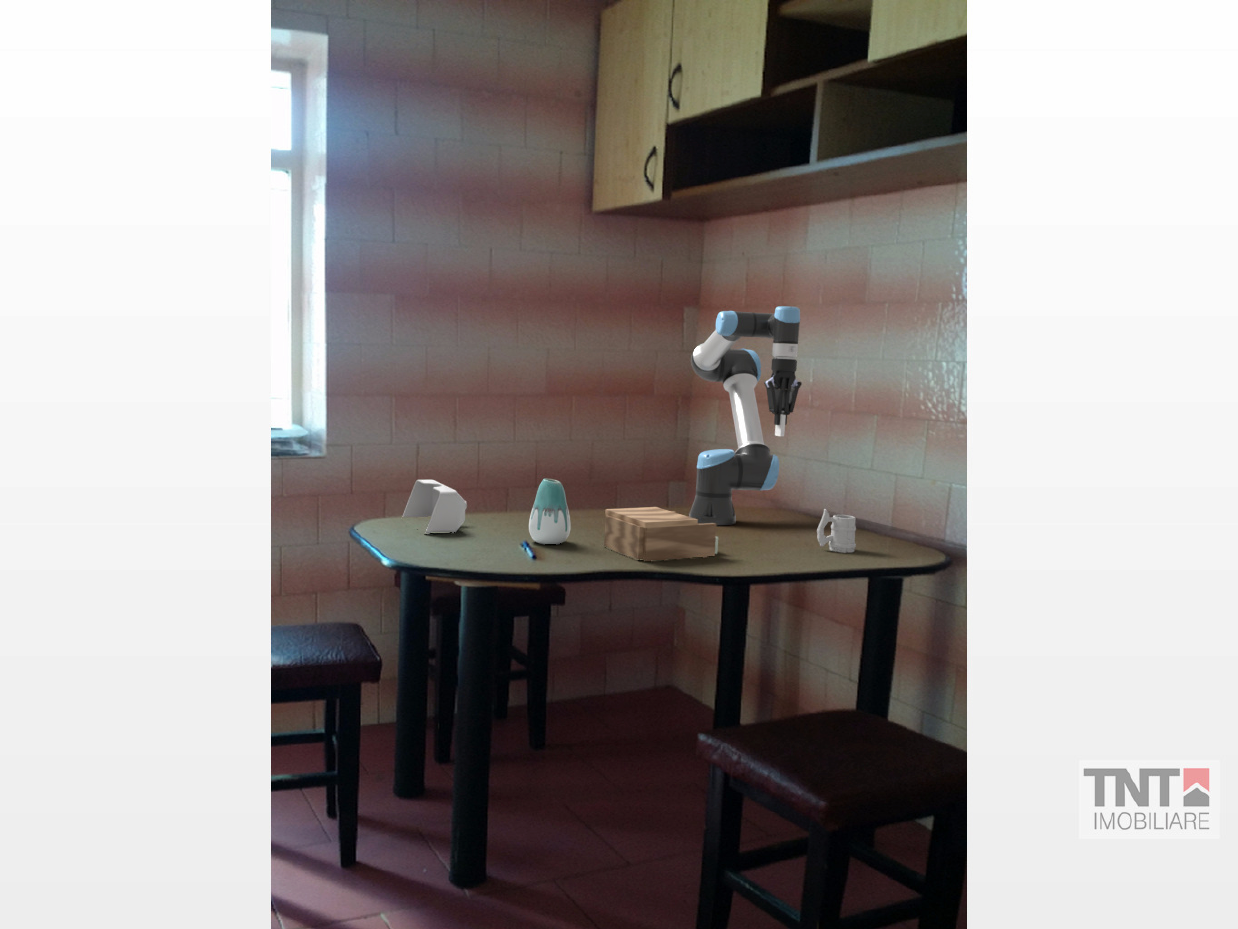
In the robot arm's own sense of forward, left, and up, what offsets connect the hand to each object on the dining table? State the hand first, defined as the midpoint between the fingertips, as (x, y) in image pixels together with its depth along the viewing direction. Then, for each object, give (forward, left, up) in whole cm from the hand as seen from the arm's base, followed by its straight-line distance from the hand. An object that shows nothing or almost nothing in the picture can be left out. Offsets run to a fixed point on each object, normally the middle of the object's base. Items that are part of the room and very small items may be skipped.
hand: (779, 435), depth 321 cm
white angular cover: (-40, -94, -31) cm, 106 cm away
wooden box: (+12, -50, -30) cm, 60 cm away
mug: (+26, +2, -31) cm, 40 cm away
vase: (-8, -73, -31) cm, 80 cm away
